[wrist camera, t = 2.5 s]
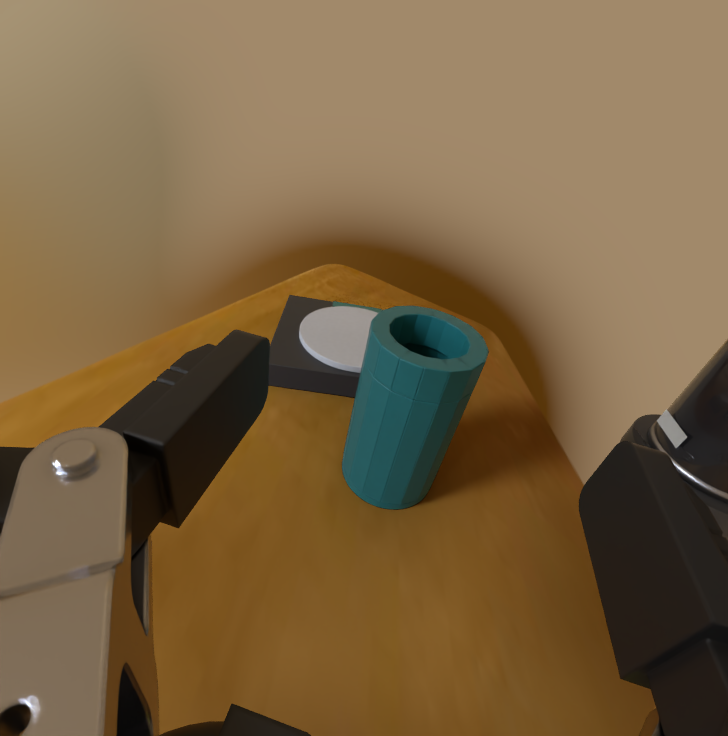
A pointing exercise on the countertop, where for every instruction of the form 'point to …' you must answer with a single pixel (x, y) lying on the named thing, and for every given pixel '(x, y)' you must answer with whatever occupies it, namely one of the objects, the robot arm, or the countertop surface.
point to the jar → (409, 402)
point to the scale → (320, 346)
